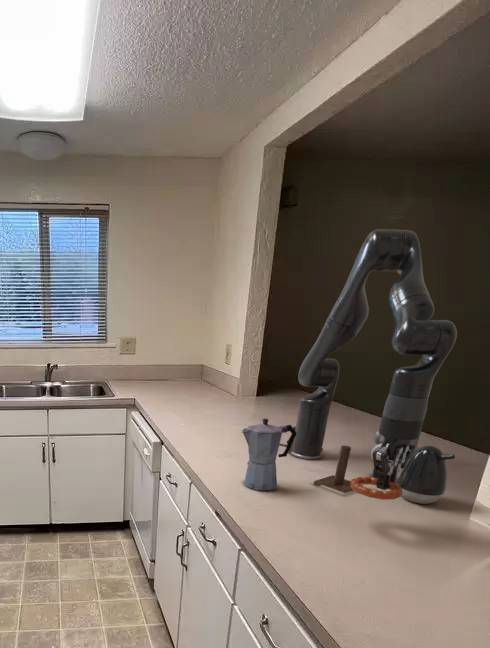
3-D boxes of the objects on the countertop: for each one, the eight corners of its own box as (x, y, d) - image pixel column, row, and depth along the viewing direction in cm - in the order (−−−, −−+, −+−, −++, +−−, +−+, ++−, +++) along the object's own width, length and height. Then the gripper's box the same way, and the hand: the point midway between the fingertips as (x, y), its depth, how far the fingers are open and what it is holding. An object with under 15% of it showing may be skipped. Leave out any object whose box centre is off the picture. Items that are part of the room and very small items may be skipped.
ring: (340, 488, 101) (342, 481, 100) (365, 479, 105) (366, 472, 105) (385, 504, 93) (387, 497, 92) (410, 494, 97) (412, 487, 97)
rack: (313, 484, 127) (321, 445, 123) (332, 478, 131) (339, 440, 127) (343, 495, 119) (352, 454, 115) (362, 489, 124) (371, 448, 119)
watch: (397, 484, 126) (406, 449, 123) (365, 479, 130) (373, 444, 127) (396, 478, 131) (405, 444, 127) (365, 473, 135) (373, 439, 131)
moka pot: (229, 479, 131) (236, 415, 124) (278, 478, 132) (288, 413, 125) (242, 492, 122) (251, 423, 115) (295, 490, 123) (307, 422, 116)
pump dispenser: (428, 511, 110) (445, 455, 105) (386, 496, 119) (399, 443, 114) (449, 503, 115) (466, 449, 109) (407, 489, 123) (421, 438, 118)
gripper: (401, 408, 101) (383, 476, 107) (367, 415, 95) (351, 487, 101) (438, 415, 95) (417, 487, 101) (405, 423, 89) (385, 500, 95)
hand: (384, 487), depth 101 cm, fingers closed on ring, 2 cm apart
